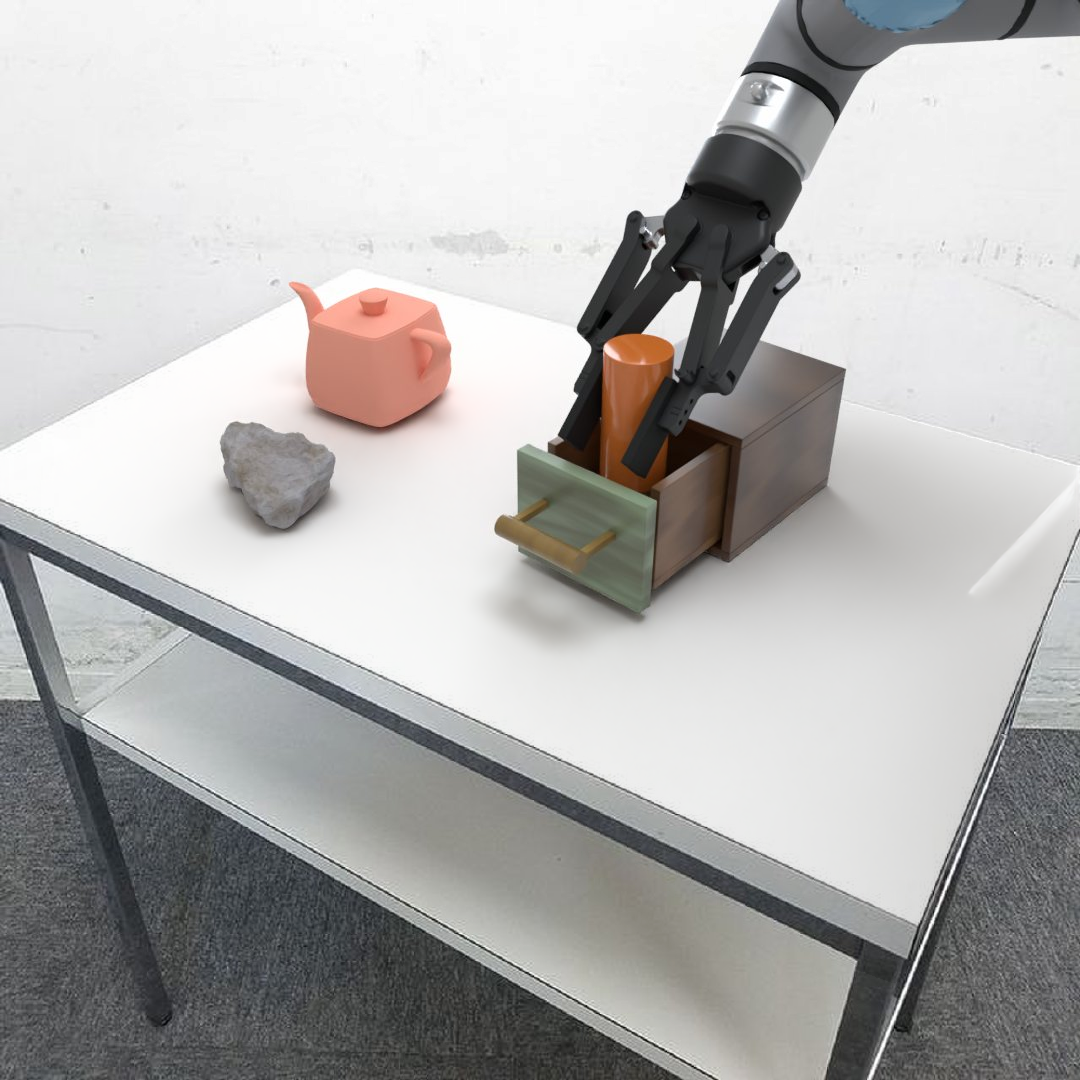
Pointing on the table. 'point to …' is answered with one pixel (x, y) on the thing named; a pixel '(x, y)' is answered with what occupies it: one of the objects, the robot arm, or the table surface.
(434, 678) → the table surface
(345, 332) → the teapot
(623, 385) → the canister
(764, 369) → the cabinet
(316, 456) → the stone
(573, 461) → the drawer
